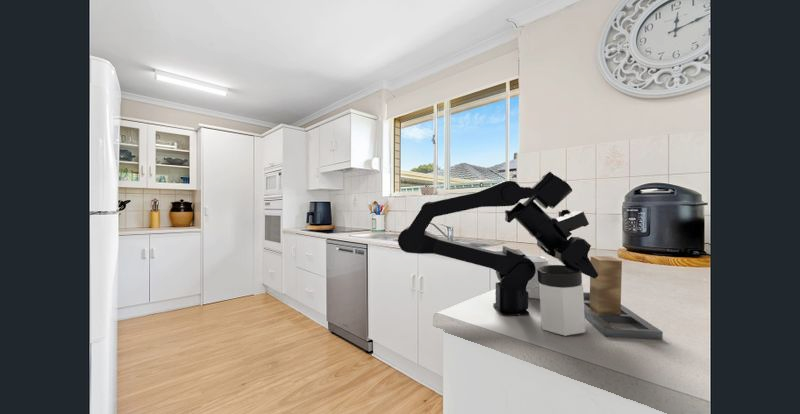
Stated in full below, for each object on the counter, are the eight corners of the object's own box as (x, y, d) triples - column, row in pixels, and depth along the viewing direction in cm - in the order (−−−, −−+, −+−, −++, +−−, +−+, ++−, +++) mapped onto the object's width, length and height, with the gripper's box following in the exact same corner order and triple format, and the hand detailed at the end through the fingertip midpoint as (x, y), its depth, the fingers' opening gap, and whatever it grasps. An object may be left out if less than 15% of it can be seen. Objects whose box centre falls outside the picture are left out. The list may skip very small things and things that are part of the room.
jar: (593, 326, 65) (590, 268, 64) (576, 340, 59) (573, 276, 59) (549, 315, 72) (546, 262, 71) (531, 327, 66) (527, 270, 66)
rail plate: (605, 336, 62) (605, 328, 61) (563, 297, 84) (563, 291, 84) (662, 339, 60) (662, 331, 60) (603, 298, 83) (604, 293, 83)
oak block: (598, 318, 70) (599, 260, 70) (589, 310, 75) (590, 256, 74) (620, 319, 70) (621, 260, 69) (610, 311, 74) (611, 256, 73)
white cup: (545, 301, 81) (546, 262, 81) (513, 296, 85) (514, 259, 85) (549, 293, 88) (550, 257, 87) (519, 288, 92) (520, 254, 91)
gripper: (581, 199, 63) (640, 255, 62) (551, 197, 81) (596, 241, 80) (538, 237, 65) (595, 293, 63) (518, 227, 83) (562, 270, 82)
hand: (587, 271), depth 72 cm, fingers open, 9 cm apart
